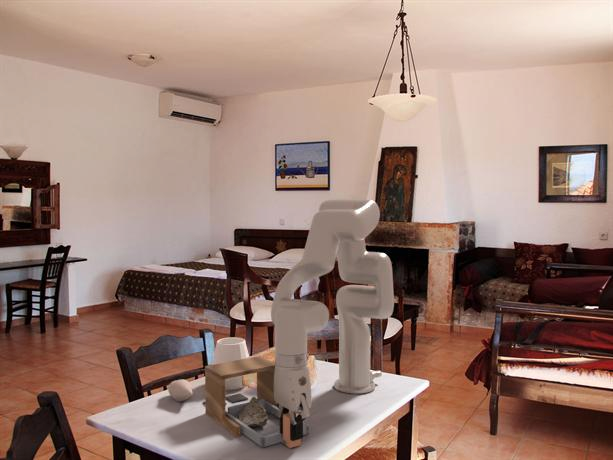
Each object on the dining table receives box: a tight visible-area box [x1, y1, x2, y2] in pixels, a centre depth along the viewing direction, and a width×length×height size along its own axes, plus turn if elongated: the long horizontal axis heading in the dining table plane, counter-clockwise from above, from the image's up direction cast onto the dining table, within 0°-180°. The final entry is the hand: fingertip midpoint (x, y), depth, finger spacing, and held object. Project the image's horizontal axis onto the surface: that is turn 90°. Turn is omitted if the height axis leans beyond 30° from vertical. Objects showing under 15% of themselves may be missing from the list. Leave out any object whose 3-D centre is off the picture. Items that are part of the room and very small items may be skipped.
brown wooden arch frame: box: [202, 355, 277, 438], centre depth 149 cm, size 17×26×13 cm, turn 35°
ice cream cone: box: [167, 379, 193, 402], centre depth 158 cm, size 6×6×15 cm
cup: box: [211, 337, 250, 391], centre depth 172 cm, size 13×13×14 cm
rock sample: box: [237, 396, 269, 428], centre depth 142 cm, size 10×8×9 cm
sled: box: [225, 399, 310, 449], centre depth 138 cm, size 13×24×7 cm, turn 35°
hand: (291, 435), depth 130 cm, fingers open, 3 cm apart
